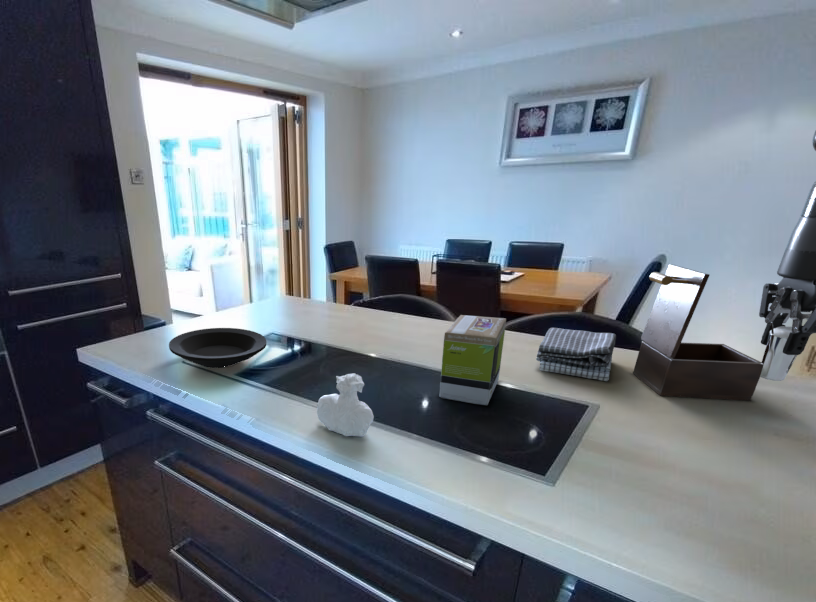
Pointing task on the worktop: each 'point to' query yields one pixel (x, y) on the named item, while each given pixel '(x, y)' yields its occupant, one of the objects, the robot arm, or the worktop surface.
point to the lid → (673, 307)
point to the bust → (345, 408)
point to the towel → (577, 353)
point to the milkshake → (776, 355)
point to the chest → (699, 371)
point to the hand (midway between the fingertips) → (779, 348)
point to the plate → (217, 346)
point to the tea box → (472, 359)
